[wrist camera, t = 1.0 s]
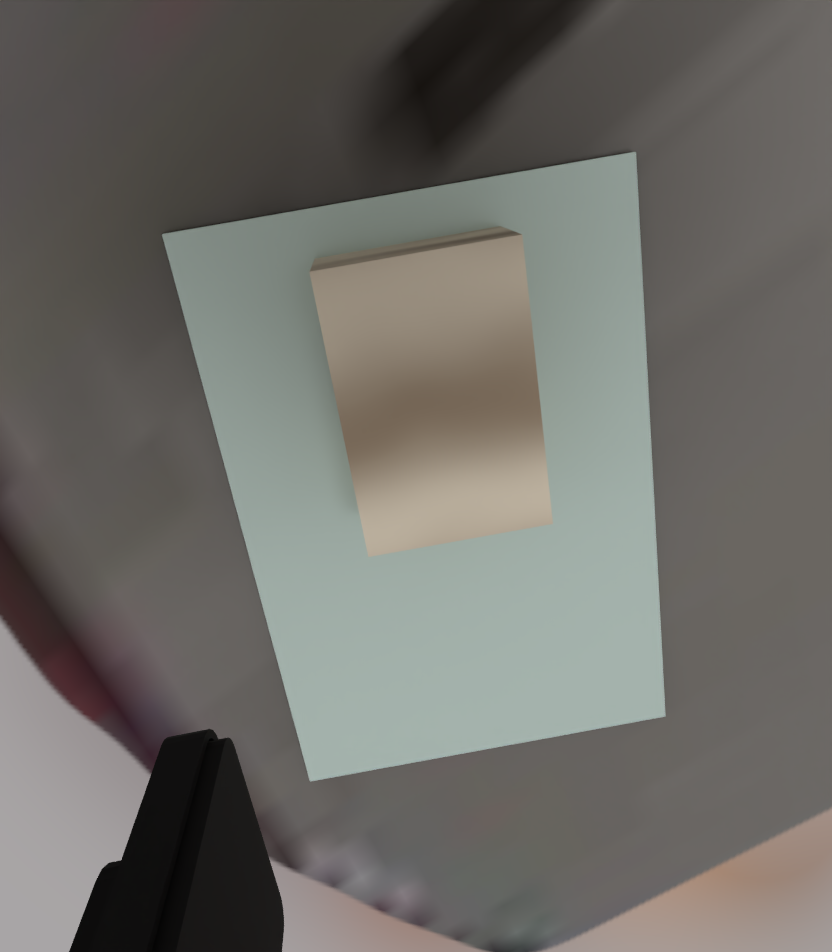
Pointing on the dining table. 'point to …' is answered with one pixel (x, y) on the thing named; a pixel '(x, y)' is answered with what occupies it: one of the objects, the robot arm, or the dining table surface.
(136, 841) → the robot arm
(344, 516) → the mat
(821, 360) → the dining table surface
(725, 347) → the dining table surface
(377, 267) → the card box
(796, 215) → the dining table surface
